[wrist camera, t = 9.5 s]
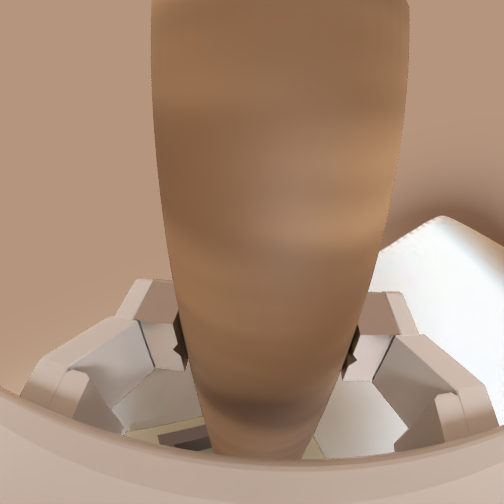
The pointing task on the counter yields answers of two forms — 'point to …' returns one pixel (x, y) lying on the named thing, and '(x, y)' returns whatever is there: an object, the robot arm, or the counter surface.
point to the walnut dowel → (274, 196)
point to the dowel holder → (197, 437)
